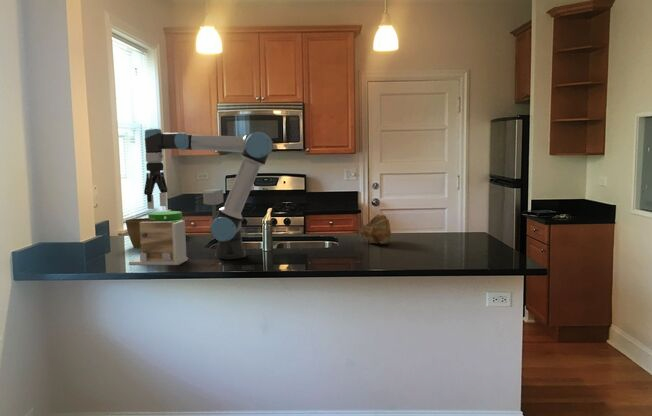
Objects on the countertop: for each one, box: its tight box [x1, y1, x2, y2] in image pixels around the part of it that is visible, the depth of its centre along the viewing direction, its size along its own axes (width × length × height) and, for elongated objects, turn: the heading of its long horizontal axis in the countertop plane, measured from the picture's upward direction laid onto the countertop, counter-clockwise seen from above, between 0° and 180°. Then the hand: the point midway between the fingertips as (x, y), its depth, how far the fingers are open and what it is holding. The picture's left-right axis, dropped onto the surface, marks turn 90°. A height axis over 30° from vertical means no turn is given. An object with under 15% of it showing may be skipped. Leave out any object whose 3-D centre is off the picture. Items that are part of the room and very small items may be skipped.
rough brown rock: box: [359, 214, 392, 245], centre depth 301 cm, size 23×17×15 cm
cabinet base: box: [128, 219, 189, 266], centre depth 253 cm, size 12×24×19 cm, turn 83°
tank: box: [147, 210, 183, 223], centre depth 320 cm, size 24×35×16 cm
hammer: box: [202, 188, 224, 240], centre depth 317 cm, size 15×8×30 cm, turn 172°
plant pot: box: [125, 217, 154, 249], centre depth 293 cm, size 15×15×16 cm
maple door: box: [140, 222, 175, 260], centre depth 252 cm, size 4×16×18 cm, turn 83°
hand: (157, 207), depth 251 cm, fingers open, 13 cm apart
